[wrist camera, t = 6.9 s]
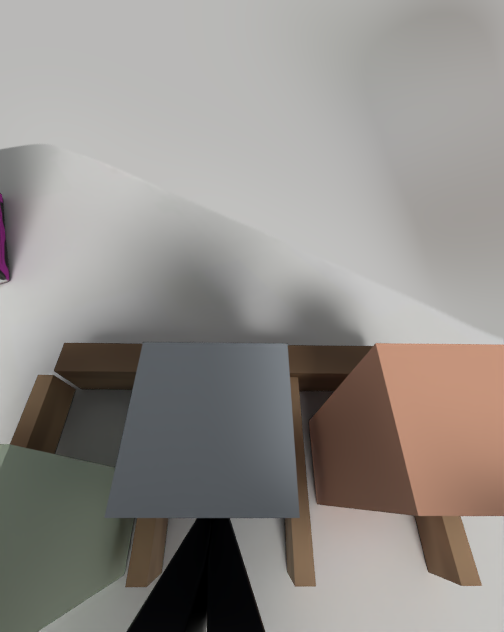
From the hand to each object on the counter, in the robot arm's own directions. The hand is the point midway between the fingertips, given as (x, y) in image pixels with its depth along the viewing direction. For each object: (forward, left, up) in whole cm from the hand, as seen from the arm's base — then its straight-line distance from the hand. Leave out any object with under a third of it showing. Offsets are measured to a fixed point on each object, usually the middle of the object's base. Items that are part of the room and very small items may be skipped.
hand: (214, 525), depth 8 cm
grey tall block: (+1, +2, -7) cm, 7 cm away
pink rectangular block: (+7, -1, -7) cm, 10 cm away
